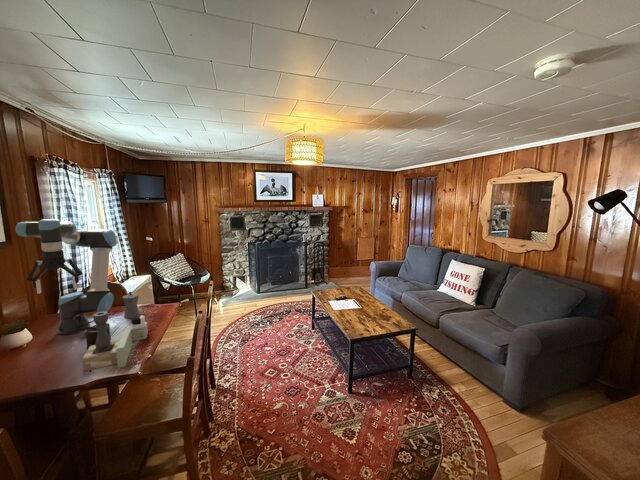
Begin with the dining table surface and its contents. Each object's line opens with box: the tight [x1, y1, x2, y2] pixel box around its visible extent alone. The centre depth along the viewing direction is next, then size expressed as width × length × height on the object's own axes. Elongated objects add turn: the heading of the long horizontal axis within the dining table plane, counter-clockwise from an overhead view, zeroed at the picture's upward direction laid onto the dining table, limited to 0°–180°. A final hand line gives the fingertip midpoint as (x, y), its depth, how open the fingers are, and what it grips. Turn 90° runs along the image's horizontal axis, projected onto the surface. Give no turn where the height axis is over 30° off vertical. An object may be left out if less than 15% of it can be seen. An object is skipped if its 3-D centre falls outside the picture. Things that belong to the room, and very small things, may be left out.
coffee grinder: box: [74, 315, 112, 351], centre depth 151 cm, size 16×11×18 cm
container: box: [129, 314, 149, 342], centre depth 161 cm, size 8×8×13 cm
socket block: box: [81, 339, 120, 372], centre depth 137 cm, size 14×14×6 cm
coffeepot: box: [122, 291, 141, 319], centre depth 192 cm, size 15×9×18 cm, turn 44°
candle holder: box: [92, 311, 112, 353], centre depth 136 cm, size 6×6×25 cm
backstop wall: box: [116, 328, 133, 369], centre depth 141 cm, size 22×3×10 cm, turn 28°
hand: (58, 291), depth 136 cm, fingers open, 13 cm apart
